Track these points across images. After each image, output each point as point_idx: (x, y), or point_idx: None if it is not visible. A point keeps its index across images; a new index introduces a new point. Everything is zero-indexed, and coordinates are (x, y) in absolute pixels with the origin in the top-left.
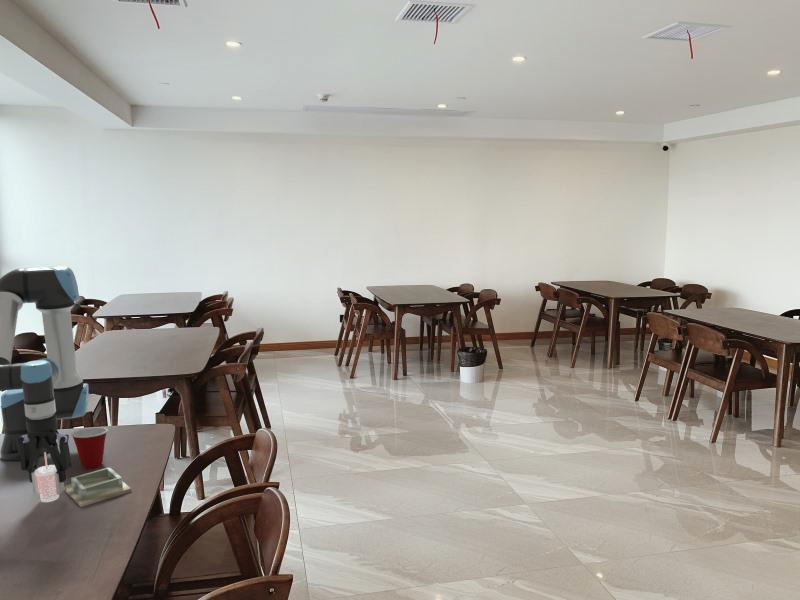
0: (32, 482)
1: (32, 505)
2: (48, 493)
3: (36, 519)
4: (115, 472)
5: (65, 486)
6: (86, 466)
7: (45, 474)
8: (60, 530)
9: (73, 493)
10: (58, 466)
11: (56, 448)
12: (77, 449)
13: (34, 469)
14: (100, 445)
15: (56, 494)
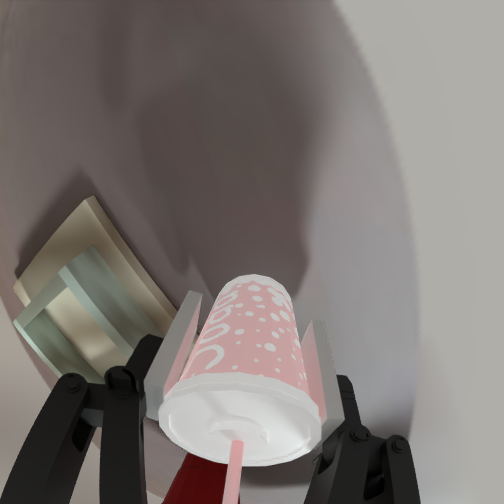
0: (334, 368)
1: (320, 270)
2: (238, 297)
3: (247, 102)
4: (54, 371)
5: None
6: None
7: (219, 383)
8: (112, 8)
9: (158, 314)
10: (111, 418)
11: None
12: None
13: (329, 445)
14: (167, 494)
15: (213, 305)
